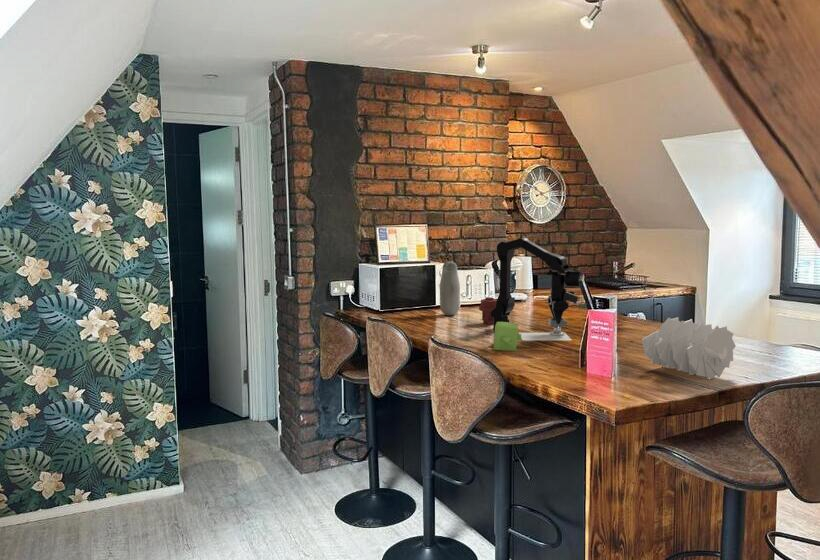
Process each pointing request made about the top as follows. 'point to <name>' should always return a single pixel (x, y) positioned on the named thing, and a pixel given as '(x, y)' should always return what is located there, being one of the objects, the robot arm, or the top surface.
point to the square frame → (553, 322)
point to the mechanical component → (487, 309)
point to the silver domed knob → (557, 332)
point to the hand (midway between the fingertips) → (557, 322)
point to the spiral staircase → (690, 347)
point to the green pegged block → (506, 336)
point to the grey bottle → (449, 289)
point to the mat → (544, 337)
